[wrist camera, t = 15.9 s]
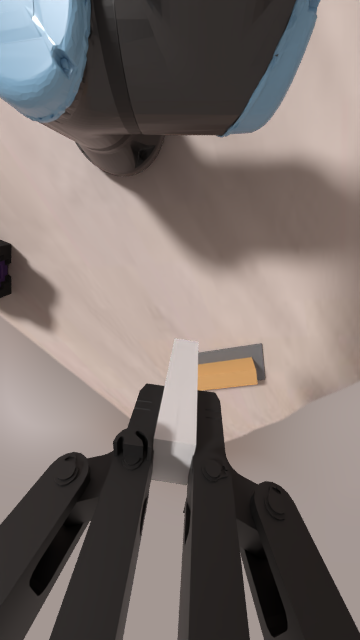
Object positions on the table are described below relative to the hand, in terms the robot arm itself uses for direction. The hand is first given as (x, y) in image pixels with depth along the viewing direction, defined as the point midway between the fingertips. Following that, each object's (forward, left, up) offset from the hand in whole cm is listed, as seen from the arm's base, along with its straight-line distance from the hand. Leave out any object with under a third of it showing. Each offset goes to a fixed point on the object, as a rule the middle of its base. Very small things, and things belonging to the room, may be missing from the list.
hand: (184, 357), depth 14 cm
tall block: (+3, -29, -30) cm, 42 cm away
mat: (+12, -26, -32) cm, 43 cm away
